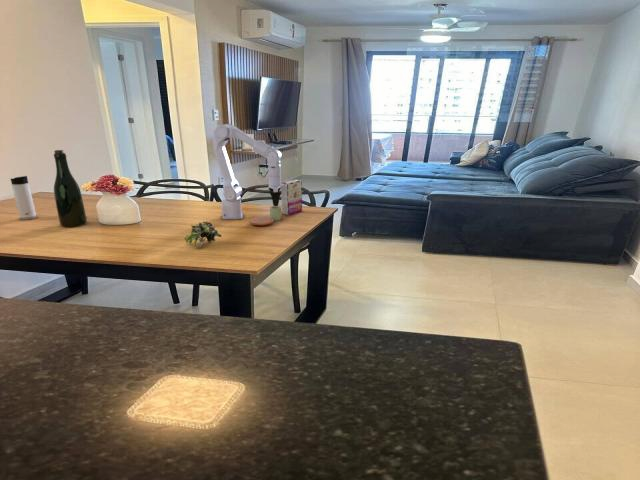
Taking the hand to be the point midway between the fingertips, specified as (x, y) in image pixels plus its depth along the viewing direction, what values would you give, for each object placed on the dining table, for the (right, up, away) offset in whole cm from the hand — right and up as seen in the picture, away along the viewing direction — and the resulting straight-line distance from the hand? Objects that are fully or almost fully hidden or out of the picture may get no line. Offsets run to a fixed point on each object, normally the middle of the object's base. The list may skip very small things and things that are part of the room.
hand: (275, 203), depth 183 cm
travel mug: (-117, -7, -2) cm, 117 cm away
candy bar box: (+7, -3, +15) cm, 17 cm away
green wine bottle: (-90, -10, -11) cm, 91 cm away
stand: (-6, -10, -5) cm, 13 cm away
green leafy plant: (-24, -20, -34) cm, 46 cm away
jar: (0, -7, +2) cm, 8 cm away
